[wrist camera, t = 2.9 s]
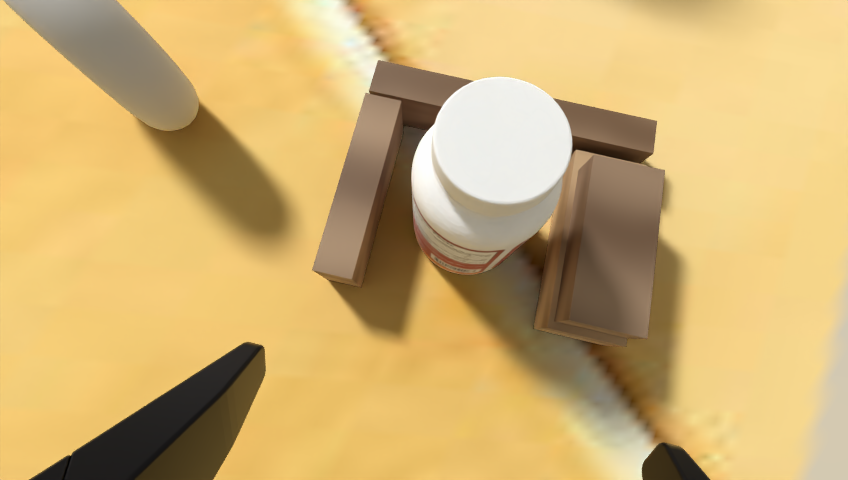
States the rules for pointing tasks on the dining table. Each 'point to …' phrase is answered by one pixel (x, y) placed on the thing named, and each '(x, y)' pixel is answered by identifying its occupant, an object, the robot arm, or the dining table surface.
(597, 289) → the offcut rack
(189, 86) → the grey rounded piece
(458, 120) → the pill bottle
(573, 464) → the dining table surface
